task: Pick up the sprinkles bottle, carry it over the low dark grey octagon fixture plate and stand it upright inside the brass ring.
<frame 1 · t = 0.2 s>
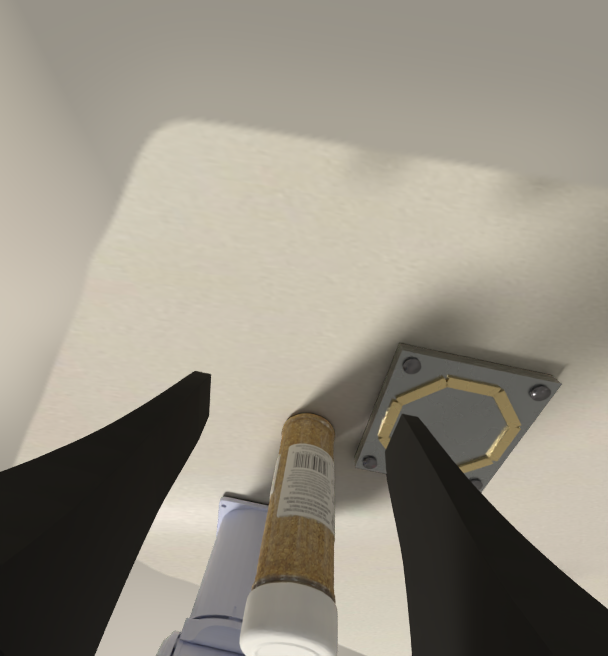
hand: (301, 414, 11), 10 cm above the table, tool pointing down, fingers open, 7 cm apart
octagon fixture plate: (441, 421, 23), on the table
sprinkles bottle: (309, 429, 25), on the table
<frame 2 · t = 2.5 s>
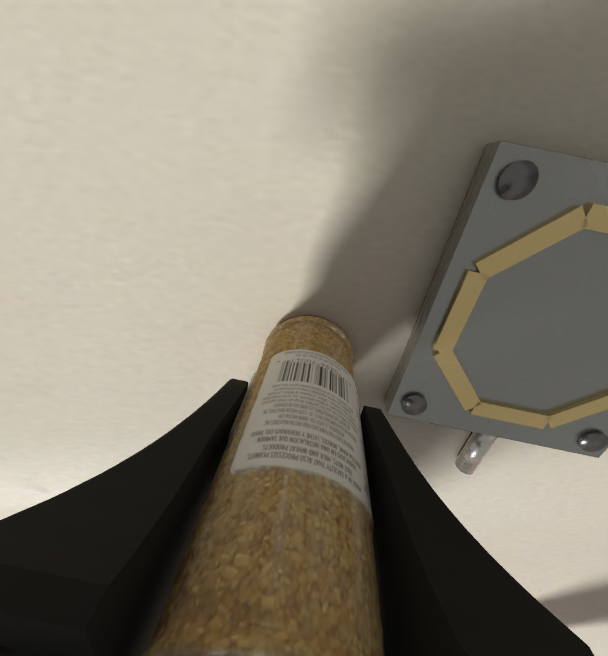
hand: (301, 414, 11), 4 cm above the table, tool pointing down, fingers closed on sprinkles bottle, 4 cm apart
octagon fixture plate: (545, 323, 13), on the table
sprinkles bottle: (310, 351, 15), on the table, touching gripper
when the fingers open (7 cm above the table, at t = 4.9 s): sprinkles bottle stays where it is, resting on octagon fixture plate.
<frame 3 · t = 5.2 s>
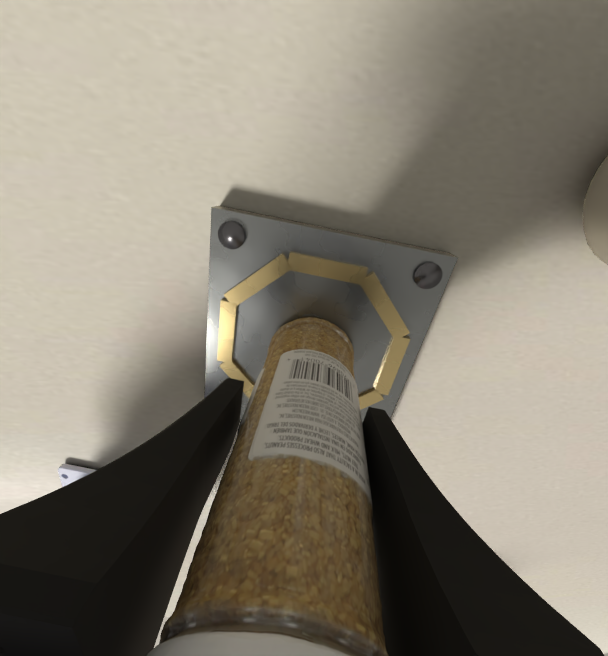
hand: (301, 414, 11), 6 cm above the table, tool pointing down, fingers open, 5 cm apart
octagon fixture plate: (310, 339, 16), on the table
sprinkles bottle: (312, 351, 16), point 1 cm above the table, touching octagon fixture plate, gripper
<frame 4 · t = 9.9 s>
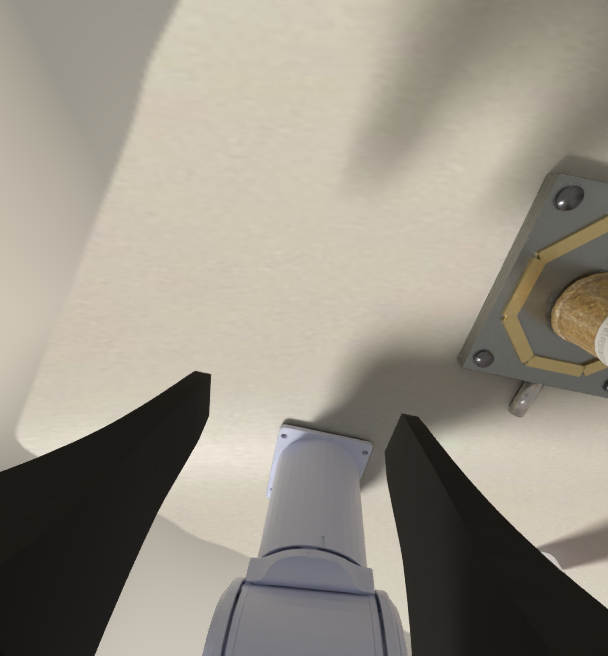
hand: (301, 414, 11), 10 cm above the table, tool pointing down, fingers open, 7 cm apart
octagon fixture plate: (581, 298, 18), on the table
sprinkles bottle: (587, 306, 18), point 1 cm above the table, touching octagon fixture plate
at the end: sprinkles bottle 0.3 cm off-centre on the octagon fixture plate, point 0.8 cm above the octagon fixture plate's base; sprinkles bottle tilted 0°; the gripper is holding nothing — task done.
